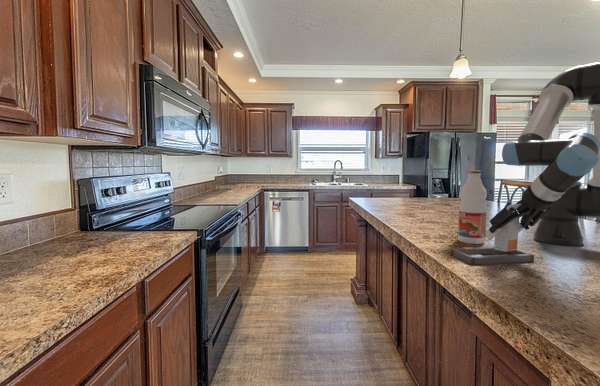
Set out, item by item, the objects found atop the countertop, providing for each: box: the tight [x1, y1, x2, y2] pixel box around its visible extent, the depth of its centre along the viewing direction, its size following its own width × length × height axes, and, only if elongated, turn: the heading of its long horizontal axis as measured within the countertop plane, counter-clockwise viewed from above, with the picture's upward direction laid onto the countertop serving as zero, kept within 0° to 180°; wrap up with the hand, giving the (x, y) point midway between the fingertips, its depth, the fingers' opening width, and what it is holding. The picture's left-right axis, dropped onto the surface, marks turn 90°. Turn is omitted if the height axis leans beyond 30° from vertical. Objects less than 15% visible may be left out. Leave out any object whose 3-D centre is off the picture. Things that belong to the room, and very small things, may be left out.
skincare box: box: [493, 213, 520, 252], centre depth 105 cm, size 6×4×12 cm
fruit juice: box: [457, 169, 488, 245], centre depth 126 cm, size 9×9×28 cm
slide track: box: [450, 245, 535, 266], centre depth 105 cm, size 21×11×2 cm, turn 97°
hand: (498, 236), depth 109 cm, fingers closed on skincare box, 7 cm apart
